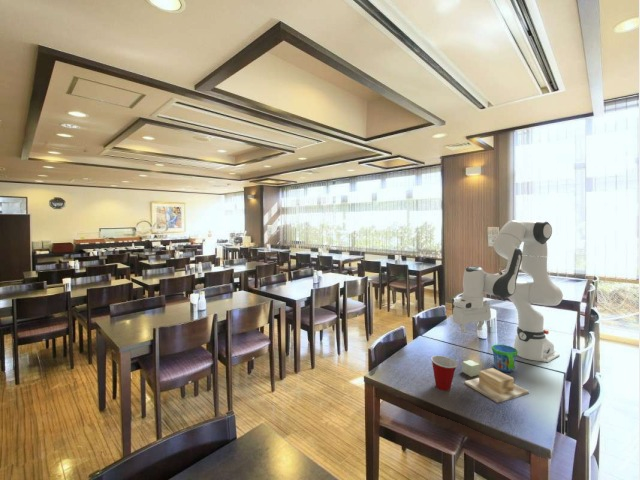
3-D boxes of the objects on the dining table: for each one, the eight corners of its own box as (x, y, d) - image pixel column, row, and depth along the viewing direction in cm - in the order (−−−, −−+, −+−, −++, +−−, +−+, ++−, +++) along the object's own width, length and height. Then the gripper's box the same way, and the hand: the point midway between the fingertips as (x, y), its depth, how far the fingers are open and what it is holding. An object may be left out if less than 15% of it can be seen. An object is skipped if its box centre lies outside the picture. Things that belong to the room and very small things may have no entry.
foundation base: (494, 375, 145) (494, 363, 144) (528, 393, 130) (529, 379, 130) (464, 383, 138) (465, 370, 138) (497, 402, 123) (497, 388, 123)
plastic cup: (460, 395, 129) (461, 366, 128) (432, 393, 131) (433, 364, 130) (453, 382, 139) (454, 355, 139) (428, 380, 141) (428, 353, 140)
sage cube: (470, 370, 151) (470, 359, 150) (479, 374, 146) (479, 364, 146) (462, 372, 149) (462, 361, 148) (471, 376, 144) (471, 366, 144)
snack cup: (487, 360, 160) (487, 341, 160) (510, 363, 158) (511, 343, 157) (496, 375, 145) (497, 354, 144) (522, 378, 142) (522, 356, 142)
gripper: (483, 298, 152) (482, 326, 153) (450, 302, 145) (449, 331, 145) (494, 301, 146) (493, 330, 147) (461, 305, 139) (460, 336, 140)
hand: (471, 331), depth 146 cm, fingers open, 8 cm apart
